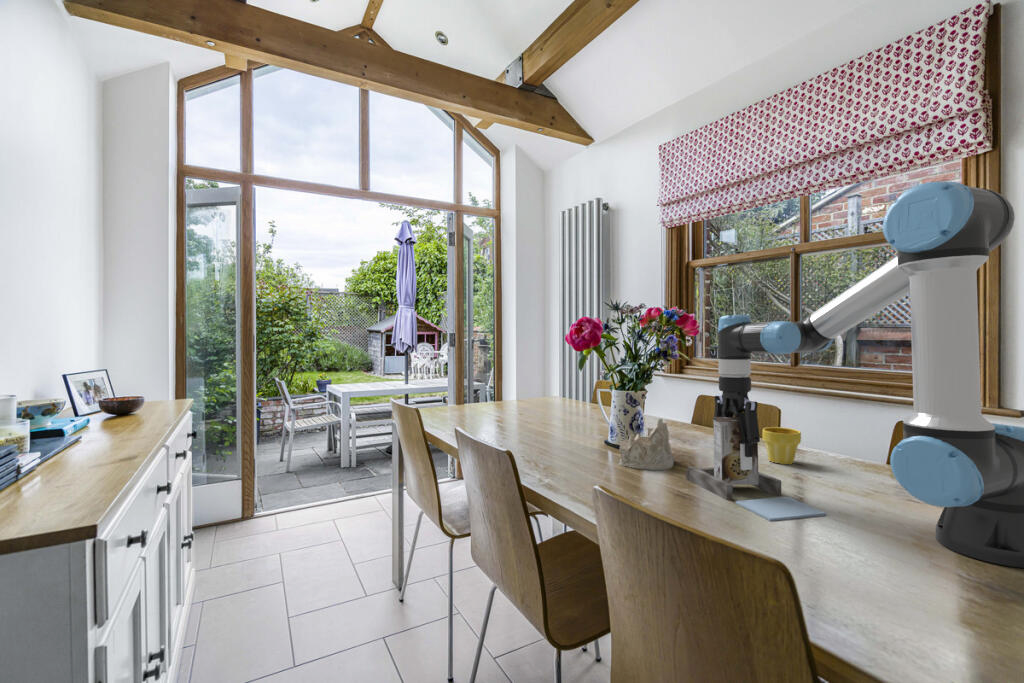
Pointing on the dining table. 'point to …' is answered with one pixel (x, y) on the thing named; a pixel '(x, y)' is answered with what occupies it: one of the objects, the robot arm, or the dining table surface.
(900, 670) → the dining table surface
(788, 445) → the plant pot
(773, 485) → the tray
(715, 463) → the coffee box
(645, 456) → the ceramic cottage
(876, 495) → the dining table surface
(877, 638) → the dining table surface
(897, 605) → the dining table surface
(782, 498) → the mat
